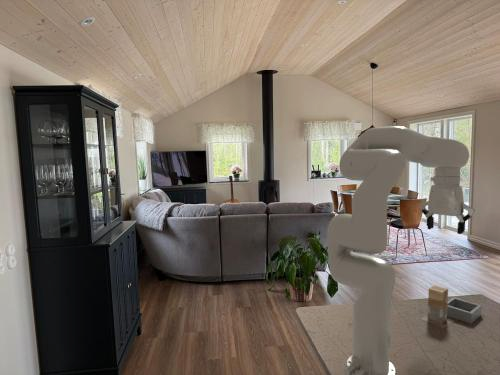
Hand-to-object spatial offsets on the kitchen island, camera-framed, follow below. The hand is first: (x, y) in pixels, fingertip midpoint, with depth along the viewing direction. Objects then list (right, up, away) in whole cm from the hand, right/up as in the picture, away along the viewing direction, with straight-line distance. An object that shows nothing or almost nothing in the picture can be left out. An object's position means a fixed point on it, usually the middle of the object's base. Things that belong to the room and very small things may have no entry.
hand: (444, 230), depth 121 cm
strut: (-3, -30, -1) cm, 30 cm away
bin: (+7, -31, +2) cm, 32 cm away
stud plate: (-3, -32, -1) cm, 32 cm away
